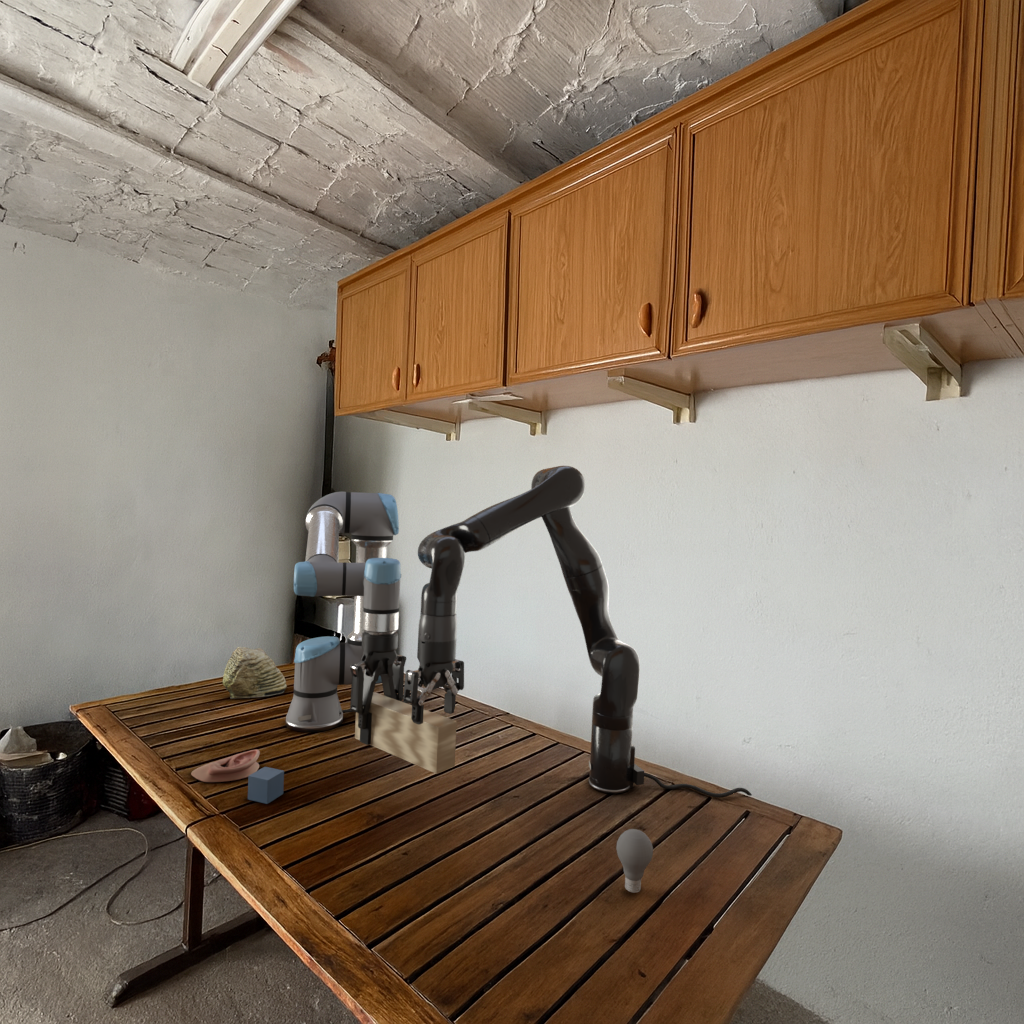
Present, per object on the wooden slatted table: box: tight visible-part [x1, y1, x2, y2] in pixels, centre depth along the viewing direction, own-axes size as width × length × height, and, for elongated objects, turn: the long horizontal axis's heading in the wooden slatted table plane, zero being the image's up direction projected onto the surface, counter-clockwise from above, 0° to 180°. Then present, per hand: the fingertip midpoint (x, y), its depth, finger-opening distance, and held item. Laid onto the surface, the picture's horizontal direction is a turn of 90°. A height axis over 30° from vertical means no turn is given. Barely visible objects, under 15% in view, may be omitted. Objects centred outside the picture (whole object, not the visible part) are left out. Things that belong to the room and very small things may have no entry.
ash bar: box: [354, 691, 458, 775], centre depth 130 cm, size 25×5×9 cm, turn 51°
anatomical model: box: [190, 748, 261, 783], centre depth 143 cm, size 13×4×12 cm
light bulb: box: [615, 828, 654, 894], centre depth 106 cm, size 6×6×10 cm
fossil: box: [222, 646, 288, 699], centre depth 198 cm, size 9×18×15 cm, turn 132°
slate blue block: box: [247, 766, 285, 805], centre depth 133 cm, size 5×5×5 cm
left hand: (376, 739), depth 135 cm, fingers closed on ash bar, 5 cm apart
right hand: (433, 717), depth 125 cm, fingers open, 8 cm apart
